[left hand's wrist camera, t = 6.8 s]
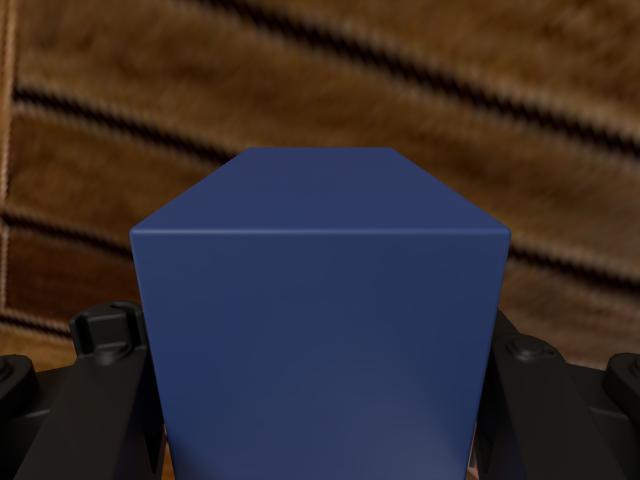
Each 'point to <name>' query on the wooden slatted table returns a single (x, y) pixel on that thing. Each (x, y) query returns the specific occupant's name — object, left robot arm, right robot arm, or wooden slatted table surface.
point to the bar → (320, 317)
